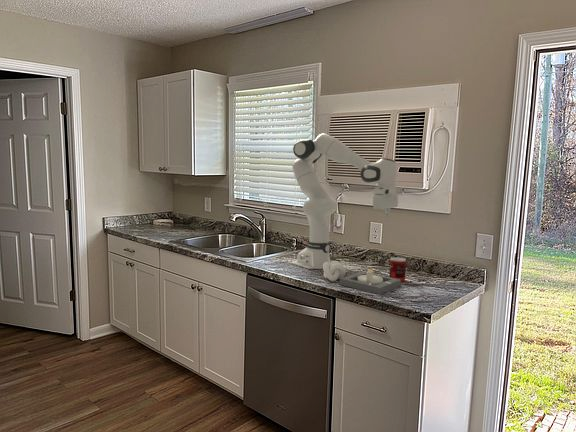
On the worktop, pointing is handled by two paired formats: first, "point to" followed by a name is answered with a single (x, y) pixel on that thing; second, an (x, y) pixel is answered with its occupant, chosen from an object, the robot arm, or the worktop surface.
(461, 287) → the worktop surface
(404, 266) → the canned food
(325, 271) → the white decorative knot
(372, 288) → the panel
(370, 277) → the dial
